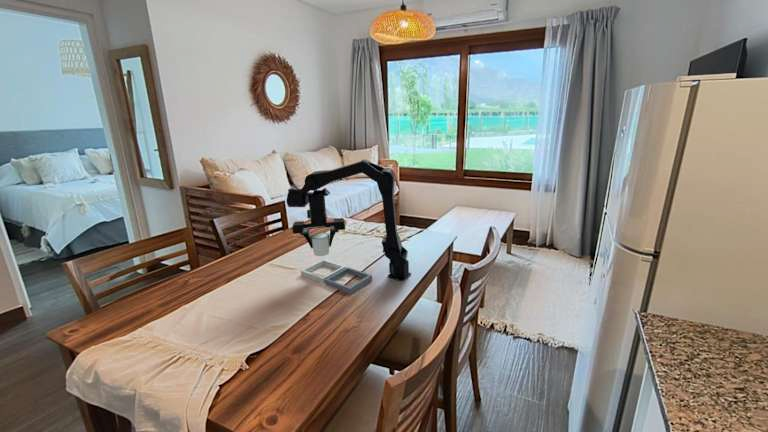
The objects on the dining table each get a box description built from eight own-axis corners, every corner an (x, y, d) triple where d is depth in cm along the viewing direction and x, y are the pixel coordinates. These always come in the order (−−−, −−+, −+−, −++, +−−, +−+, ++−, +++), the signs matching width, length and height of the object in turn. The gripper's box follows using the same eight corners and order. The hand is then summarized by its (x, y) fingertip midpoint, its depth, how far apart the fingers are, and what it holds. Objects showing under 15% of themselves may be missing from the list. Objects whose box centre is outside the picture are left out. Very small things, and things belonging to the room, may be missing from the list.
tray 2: (372, 279, 126) (372, 274, 126) (350, 294, 117) (350, 288, 116) (347, 271, 133) (347, 267, 132) (325, 284, 124) (324, 279, 123)
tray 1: (345, 271, 134) (345, 266, 133) (323, 283, 124) (322, 278, 124) (324, 263, 140) (323, 259, 140) (301, 275, 131) (300, 270, 131)
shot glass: (329, 256, 127) (327, 238, 124) (310, 257, 127) (308, 239, 125) (332, 249, 133) (330, 232, 131) (314, 249, 133) (312, 232, 131)
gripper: (342, 199, 133) (345, 237, 138) (293, 203, 131) (297, 241, 136) (343, 207, 123) (346, 248, 128) (290, 211, 120) (294, 252, 125)
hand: (321, 247), depth 129 cm, fingers closed on shot glass, 6 cm apart
